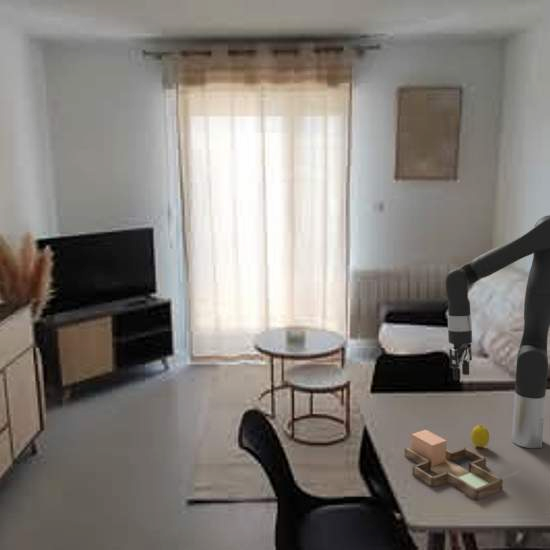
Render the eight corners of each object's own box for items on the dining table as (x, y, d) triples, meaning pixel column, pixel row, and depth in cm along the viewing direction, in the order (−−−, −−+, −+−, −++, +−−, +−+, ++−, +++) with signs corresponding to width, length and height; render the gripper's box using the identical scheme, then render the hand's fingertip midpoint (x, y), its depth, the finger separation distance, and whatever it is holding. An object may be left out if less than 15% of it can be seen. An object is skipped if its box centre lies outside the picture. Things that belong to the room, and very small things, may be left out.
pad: (449, 482, 174) (449, 481, 174) (471, 473, 179) (471, 472, 179) (475, 497, 166) (475, 496, 166) (497, 488, 171) (497, 487, 170)
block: (411, 454, 190) (411, 434, 189) (424, 449, 193) (425, 429, 192) (431, 466, 183) (432, 445, 181) (445, 461, 185) (446, 440, 184)
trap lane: (390, 461, 187) (390, 452, 186) (441, 443, 198) (442, 435, 197) (461, 506, 162) (462, 496, 161) (515, 483, 173) (516, 474, 172)
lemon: (479, 453, 191) (481, 430, 189) (467, 446, 196) (468, 423, 194) (492, 449, 193) (493, 426, 192) (479, 442, 198) (480, 420, 197)
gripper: (463, 332, 189) (465, 382, 190) (478, 326, 200) (479, 373, 201) (440, 331, 194) (442, 380, 194) (456, 325, 205) (458, 371, 206)
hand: (461, 377), depth 198 cm, fingers open, 8 cm apart
